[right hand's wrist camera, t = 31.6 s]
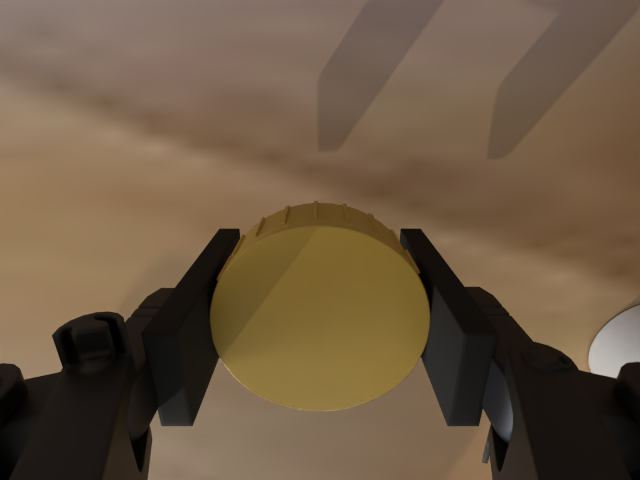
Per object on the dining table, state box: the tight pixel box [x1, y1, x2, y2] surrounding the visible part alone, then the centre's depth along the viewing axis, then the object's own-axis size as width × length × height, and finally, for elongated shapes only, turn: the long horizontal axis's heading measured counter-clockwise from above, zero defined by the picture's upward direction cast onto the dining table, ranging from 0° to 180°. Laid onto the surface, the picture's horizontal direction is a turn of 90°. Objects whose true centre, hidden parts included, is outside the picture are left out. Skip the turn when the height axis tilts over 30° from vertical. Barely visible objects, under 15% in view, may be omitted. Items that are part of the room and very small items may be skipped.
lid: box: [210, 201, 431, 411], centre depth 11 cm, size 6×6×2 cm
